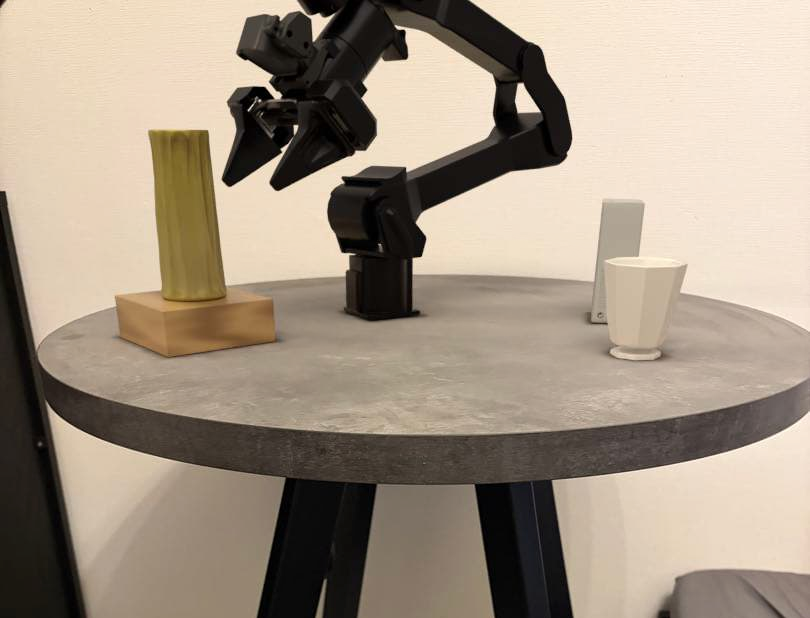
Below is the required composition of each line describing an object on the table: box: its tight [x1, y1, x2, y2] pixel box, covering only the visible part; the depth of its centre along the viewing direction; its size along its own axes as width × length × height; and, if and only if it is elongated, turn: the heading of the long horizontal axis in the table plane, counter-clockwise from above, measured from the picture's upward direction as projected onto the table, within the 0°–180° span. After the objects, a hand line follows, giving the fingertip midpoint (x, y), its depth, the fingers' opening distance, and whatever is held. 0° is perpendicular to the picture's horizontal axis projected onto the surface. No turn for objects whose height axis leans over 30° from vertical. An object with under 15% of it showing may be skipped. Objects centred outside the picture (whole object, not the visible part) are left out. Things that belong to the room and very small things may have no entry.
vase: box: [147, 129, 227, 301], centre depth 79 cm, size 6×6×14 cm
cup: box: [604, 256, 689, 361], centre depth 78 cm, size 7×10×8 cm
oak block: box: [114, 286, 276, 358], centre depth 83 cm, size 11×11×4 cm
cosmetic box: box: [590, 198, 646, 324], centre depth 91 cm, size 6×4×12 cm
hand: (248, 185), depth 82 cm, fingers open, 9 cm apart
